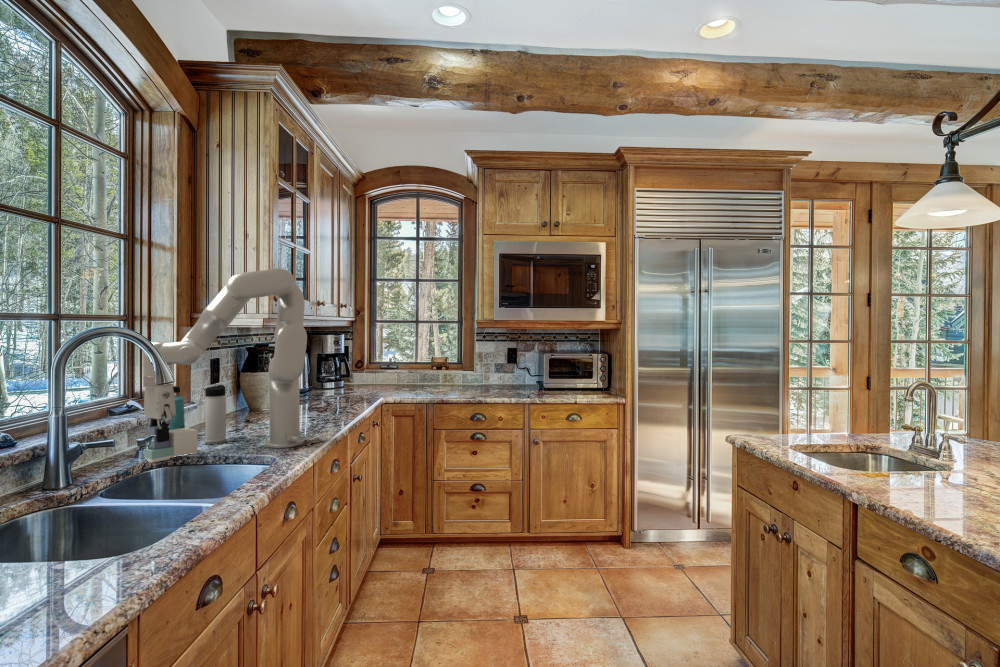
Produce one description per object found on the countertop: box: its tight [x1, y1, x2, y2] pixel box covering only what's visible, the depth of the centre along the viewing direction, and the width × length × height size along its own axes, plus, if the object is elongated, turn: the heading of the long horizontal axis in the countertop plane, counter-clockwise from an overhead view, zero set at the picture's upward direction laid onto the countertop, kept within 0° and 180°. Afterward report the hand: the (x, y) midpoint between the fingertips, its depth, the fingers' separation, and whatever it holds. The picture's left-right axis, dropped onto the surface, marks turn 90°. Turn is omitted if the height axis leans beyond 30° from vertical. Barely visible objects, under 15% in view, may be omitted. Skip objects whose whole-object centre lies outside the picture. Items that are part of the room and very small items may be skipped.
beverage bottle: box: [162, 385, 186, 431], centre depth 169 cm, size 6×7×20 cm
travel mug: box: [204, 384, 227, 445], centre depth 170 cm, size 6×7×20 cm
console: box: [143, 427, 198, 464], centre depth 152 cm, size 7×13×8 cm, turn 149°
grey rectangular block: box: [147, 426, 169, 450], centre depth 149 cm, size 4×4×8 cm
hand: (159, 439), depth 149 cm, fingers open, 4 cm apart
